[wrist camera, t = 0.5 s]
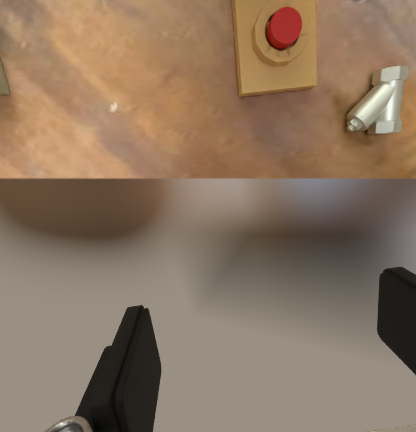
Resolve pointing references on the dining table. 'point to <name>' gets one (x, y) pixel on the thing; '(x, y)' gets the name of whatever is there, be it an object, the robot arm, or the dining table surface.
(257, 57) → the button box
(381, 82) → the pipe fitting
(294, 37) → the button
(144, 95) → the dining table surface
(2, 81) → the dial base
